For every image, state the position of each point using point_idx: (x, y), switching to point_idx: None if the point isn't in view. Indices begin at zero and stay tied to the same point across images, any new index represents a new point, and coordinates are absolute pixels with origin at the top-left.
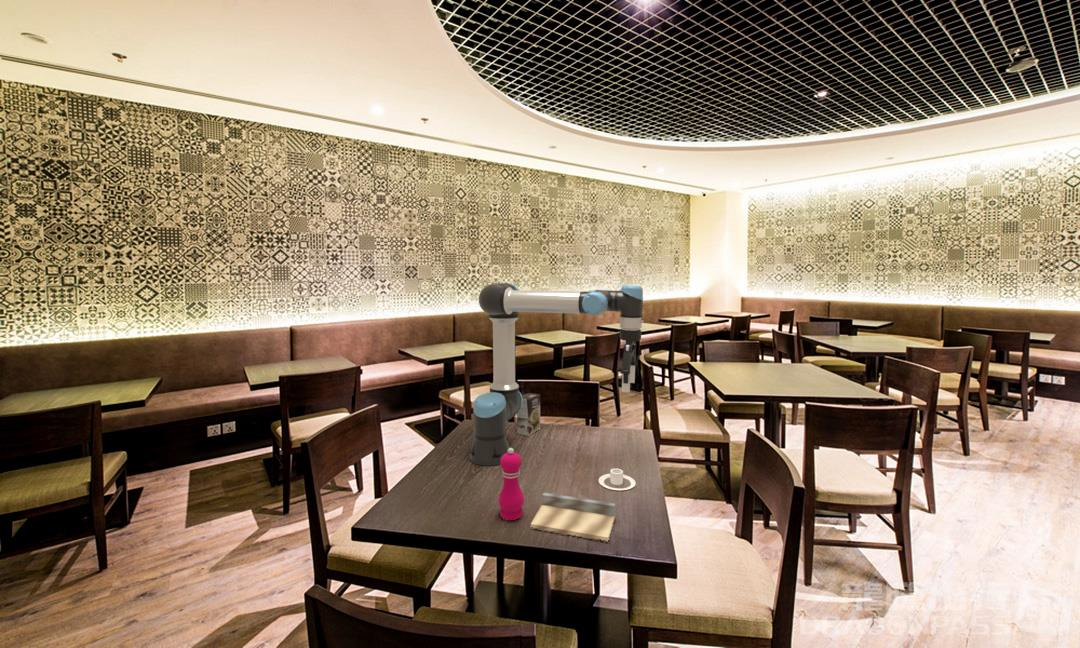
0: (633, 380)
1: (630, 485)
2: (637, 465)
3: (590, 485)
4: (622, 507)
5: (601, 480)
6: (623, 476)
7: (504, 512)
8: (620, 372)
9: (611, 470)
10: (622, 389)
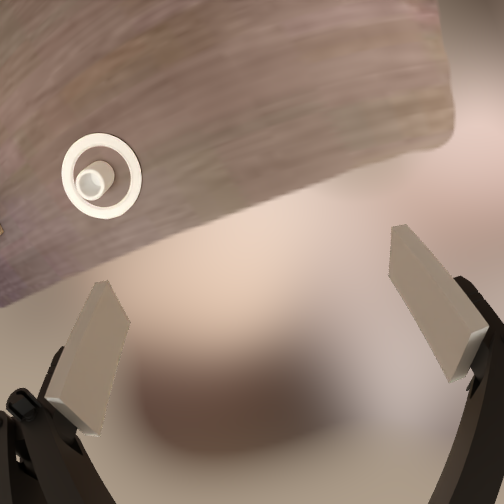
0: (396, 282)
1: (103, 209)
2: (220, 182)
3: (55, 134)
4: (32, 228)
5: (82, 145)
6: (132, 178)
7: None
8: (10, 400)
9: (83, 173)
10: (92, 298)
